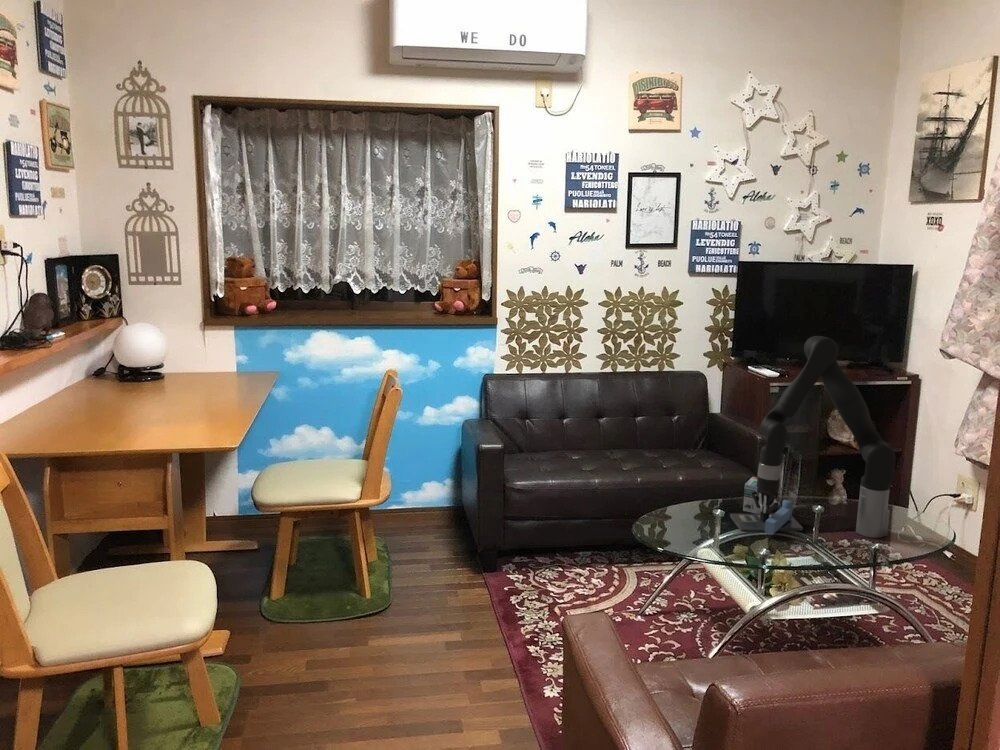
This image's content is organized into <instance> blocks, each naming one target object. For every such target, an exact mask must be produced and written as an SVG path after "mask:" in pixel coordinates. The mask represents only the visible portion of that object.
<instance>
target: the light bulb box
mask: <svg viewBox="0 0 1000 750" xmlns="http://www.w3.org/2000/svg"><path fill="white" fill-rule="evenodd" d="M757 488H758V487H757V477H756V476H752V477H751V478H750V479H749V480H748V481H747V482H745V484H744V492H743V493H744V494H743V507H742V511H743V512H746V513H750V514H761V511H760V509H759V508H757V506H756V504H755V501H754V499H753V496H752V492H755V491H757ZM758 503H759V501H758Z"/></svg>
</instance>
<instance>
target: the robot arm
mask: <svg viewBox="0 0 1000 750" xmlns="http://www.w3.org/2000/svg"><path fill="white" fill-rule="evenodd" d="M803 352H804V355H805V357H806V359H807V361H806V363H805V365H804V367H803V369H802V370H801V371H800V372H799V373H798V375H797V376H796V377H795V378H794V379H793V380H792V382H791V383H789V385H788V386H787V387H786V389H784V391H783V393H782V394H781V396H780V398H779V400H778V401H777V402H776V405H775V406H774V407H773V408H772V409H771V410H770V411H769V412H768V413H767V414H766V415H765V417H764V418H763V419H762V421H761V423H760V426H759V431H760V434H761V435H762V436H763V437H765V438H766V444H765V445H764V446H762V447H761V450H760V454H759V462H758V463H759V464H758V468H757V469H758V470H757V487H758V488H757V491H755V492H752V496H753V499H754V501H755V504H756V506H757V508H759V509H760V511H761V514H760V519H761V520H760V521H761V522H763V523H765V521H766V520H767V519H768V518H769V514H774V513H776V512H777V511H778V510H779V509H780V508H781V507H782V502H783V501H779V499H778V491H779V489H780V484H781V473H782V457H783V456H782V454H783V452H784V449H785V446H786V443H787V440H788V429H787V427H786V425H785V424H784V423H785V422H786V420H788V419H793V418H794V417H795V416H796V415H797V413H798V411H799V410H800V408H801V406H802V405H803V403H804V401H805V399H806V398H807V396H808V394H809V393H810V391H811V390H812V389H813V388H814V386H815V384H816V383H817V381H818V380H819V379H821V381H822V383H823V385H824V388H825V389H826V392H827V394H828V396H829V397H830V399H831V401H832V403H833V405H834V407H835V409H836V411H837V413H838V414H839V416H840V418H841V419H842V421H843V422H844V424H845V425H846V426H847V428H848V429H849V430H850V432H851V434H852V435H853V437H854V439H855V442H856V444H857V447H858V450H859V451H860V452H859V453H860V454H861V457H862V460H863V461H864V462H865V469H864V475H863V476H861V479H860V488H859V498H858V505H857V516H856V525H855V526H856V527H855V532H856V533H857V534H859V535H861V536H863V537H866V538H871V539H872V538H873V539H878V538H879V539H880V538H883V537H887V536H888V533H889V520H890V514H891V511H890V509H889V497H890V488H891V484H892V482H893V480H894V479H893V478H894V474H895V467H896V454H895V451H894V449H893V448H892V447H891V446H889V445H888V444H887V443H886V442H885V441H884V439H883V438H882V437H881V435H880V434H879V433H878V431H877V429H876V428H875V426H874V424H873V422H872V417H871V414H870V411H869V409H868V406H867V403H866V401H865V400H864V398H863V396H862V393H861V392H860V390H859V388H858V387H857V386H856V384H854V381H852V380H851V379H850V378H849V376H848V375H847V374H846V373H845V372H844V370H843V369H842V368H841V366H840V364H839V363H838V361H837V356H838V355H839V354H838V353H839V347H838V344H837V342H836V341H835V340H833V338H832V339H831V338H830V337H826V336H821V335H812V336H810V337H809V338H808V339H806V341H805V343H804V345H803ZM758 501H759V503H758Z"/></svg>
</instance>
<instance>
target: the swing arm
mask: <svg viewBox="0 0 1000 750" xmlns="http://www.w3.org/2000/svg"><path fill="white" fill-rule="evenodd" d="M781 502H782V505H781V506H780V507H779V508H778V509H777V510H776V511H775V512H773V513H772V514H773V515H772V516H771V517H770V518H768V519H767V520H766V521H765V531H764V532H765V533H767V534H772V535H773V534H775V533H776V532H778V531H777V530H778V529H779V528H780V527H782V526H783V525H784V524H785V523H786V522H787V521H788V520H789V519H792V517H793V508H794V507H793V506H794V502H793V501H792V500H790V499H783V500H782V501H781Z"/></svg>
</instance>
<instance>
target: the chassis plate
mask: <svg viewBox="0 0 1000 750" xmlns="http://www.w3.org/2000/svg"><path fill="white" fill-rule="evenodd" d="M773 514H774V513H770V514H769V518H770V517H771V516H772V515H773ZM729 518H731V520H732V522H734V525H736V527H737V528H738V529H739V531H740V530H747V532H751V531H752V532H758V531H759V532H765V523H763V522H761V521H760V520H761V519H760V514H756V513H730V514H729ZM803 530H804V527H803V525H801V524H800V523H799V521H797V519H795V518H794V517H793V516H792V519H789V520H788V521H787V522H786V523H785V524H784V525H783V526H782V527H780V528H779V529H778V530H777V531H776V532H789V531H790V532H794V531H795V532H796V531H797V532H798V531H799V532H803Z"/></svg>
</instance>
